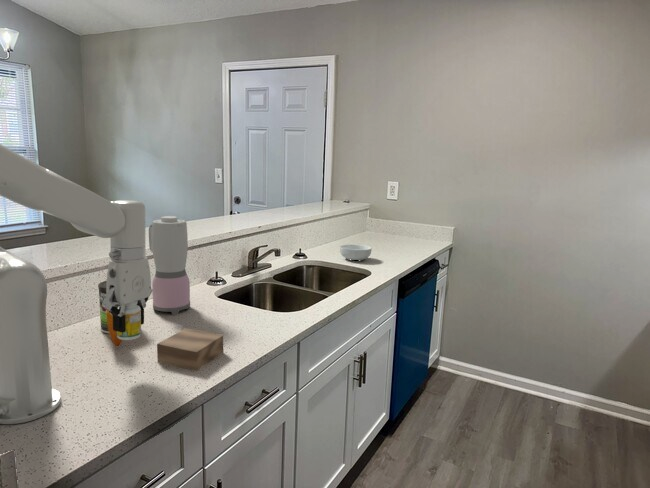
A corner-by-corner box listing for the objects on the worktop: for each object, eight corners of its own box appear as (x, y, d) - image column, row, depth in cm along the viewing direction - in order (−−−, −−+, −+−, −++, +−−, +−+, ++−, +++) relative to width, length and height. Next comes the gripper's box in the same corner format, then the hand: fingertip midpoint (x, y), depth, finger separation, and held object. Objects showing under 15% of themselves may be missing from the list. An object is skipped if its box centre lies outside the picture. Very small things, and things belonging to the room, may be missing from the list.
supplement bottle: (145, 336, 110) (145, 298, 109) (124, 342, 106) (124, 302, 104) (132, 330, 113) (132, 293, 112) (112, 336, 109) (111, 297, 107)
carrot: (122, 341, 128) (119, 290, 125) (130, 346, 125) (128, 294, 122) (104, 346, 124) (101, 294, 122) (113, 352, 121) (110, 298, 119)
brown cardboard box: (196, 370, 113) (196, 352, 112) (157, 362, 117) (156, 343, 116) (223, 352, 124) (223, 335, 123) (186, 344, 128) (186, 328, 127)
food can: (117, 336, 132) (114, 290, 129) (92, 329, 136) (90, 284, 133) (145, 325, 141) (143, 281, 138) (121, 319, 145) (119, 277, 142)
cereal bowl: (374, 258, 247) (375, 246, 246) (364, 264, 233) (365, 251, 231) (346, 255, 254) (346, 242, 253) (334, 260, 239) (335, 247, 238)
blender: (198, 307, 159) (196, 217, 153) (171, 317, 148) (168, 221, 142) (165, 299, 166) (163, 212, 160) (138, 308, 155) (134, 216, 149)
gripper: (112, 261, 97) (113, 341, 100) (165, 250, 113) (165, 319, 116) (85, 257, 99) (87, 335, 102) (141, 246, 115) (141, 314, 118)
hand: (128, 326), depth 109 cm, fingers closed on supplement bottle, 5 cm apart
